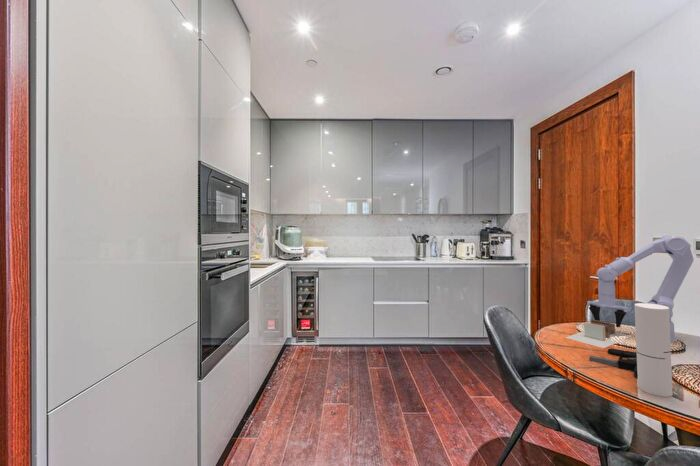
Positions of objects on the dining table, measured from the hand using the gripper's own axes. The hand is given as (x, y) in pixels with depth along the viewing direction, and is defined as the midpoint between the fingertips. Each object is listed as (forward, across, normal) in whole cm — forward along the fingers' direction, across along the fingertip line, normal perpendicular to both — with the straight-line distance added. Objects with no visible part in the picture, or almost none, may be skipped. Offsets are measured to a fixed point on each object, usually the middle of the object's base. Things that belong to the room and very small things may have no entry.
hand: (607, 324), depth 132 cm
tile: (+4, 0, -11) cm, 12 cm away
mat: (+4, 0, -8) cm, 9 cm away
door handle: (+5, +16, -31) cm, 35 cm away
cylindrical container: (+4, +29, -43) cm, 52 cm away
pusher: (+4, 0, -3) cm, 5 cm away
